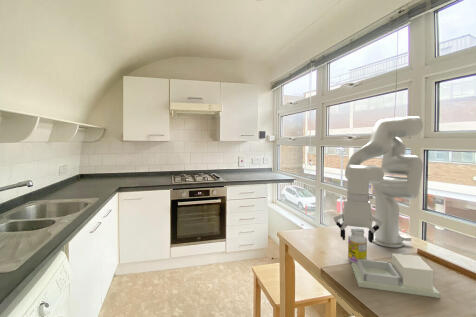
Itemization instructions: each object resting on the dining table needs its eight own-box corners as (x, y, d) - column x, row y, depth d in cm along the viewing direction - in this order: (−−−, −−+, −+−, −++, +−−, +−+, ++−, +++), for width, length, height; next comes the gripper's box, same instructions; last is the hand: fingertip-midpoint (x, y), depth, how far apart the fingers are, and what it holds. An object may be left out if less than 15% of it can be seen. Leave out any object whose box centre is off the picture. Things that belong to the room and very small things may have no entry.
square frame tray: (419, 274, 82) (419, 254, 82) (439, 297, 70) (440, 273, 70) (351, 266, 89) (351, 247, 88) (358, 286, 76) (359, 264, 76)
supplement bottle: (344, 257, 96) (345, 227, 96) (360, 256, 97) (360, 226, 96) (354, 265, 90) (354, 233, 89) (370, 264, 90) (370, 232, 89)
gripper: (379, 197, 93) (378, 239, 93) (333, 194, 98) (332, 234, 98) (385, 201, 86) (384, 246, 86) (335, 198, 91) (334, 241, 91)
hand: (356, 240), depth 92 cm, fingers open, 9 cm apart
